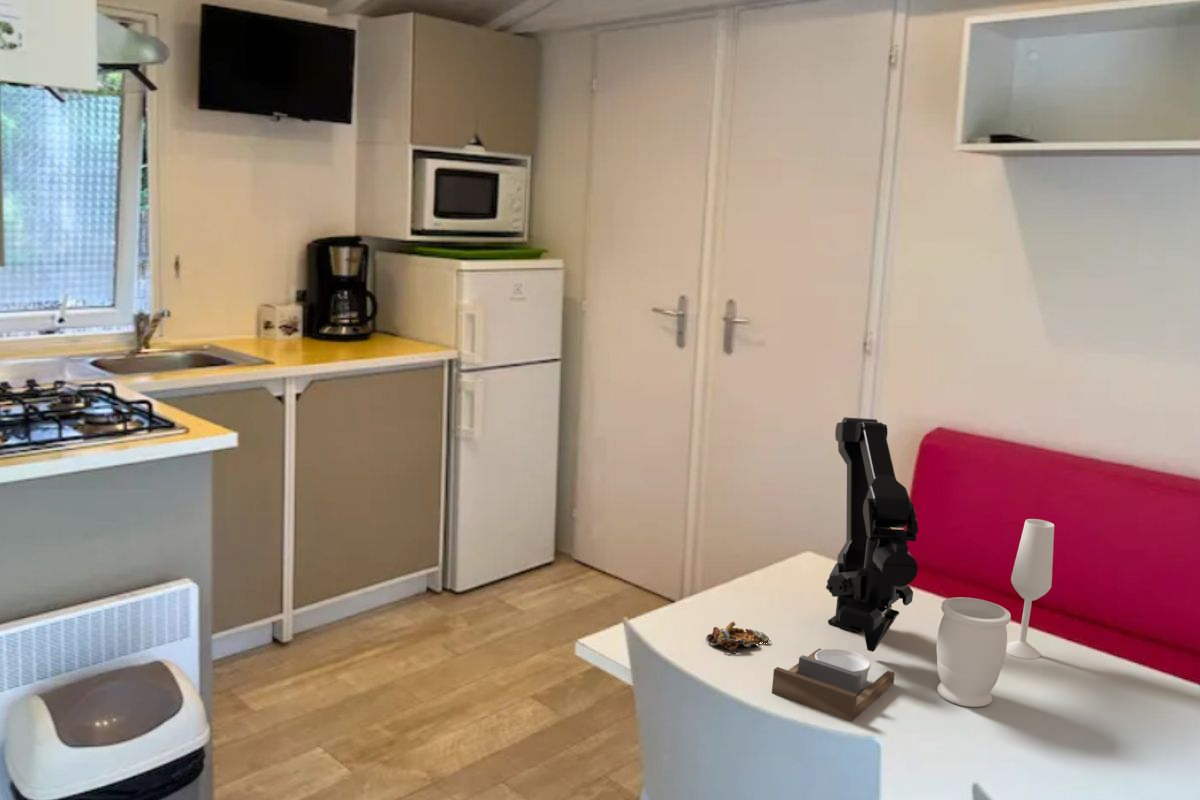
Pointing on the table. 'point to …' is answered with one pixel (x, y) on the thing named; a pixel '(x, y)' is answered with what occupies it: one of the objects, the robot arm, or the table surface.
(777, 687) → the wooden u-shaped frame
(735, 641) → the grilled meat platter
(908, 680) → the table surface
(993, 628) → the jar
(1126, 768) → the table surface
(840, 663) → the ramekin
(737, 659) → the table surface
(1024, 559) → the champagne flute
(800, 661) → the block
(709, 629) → the table surface
